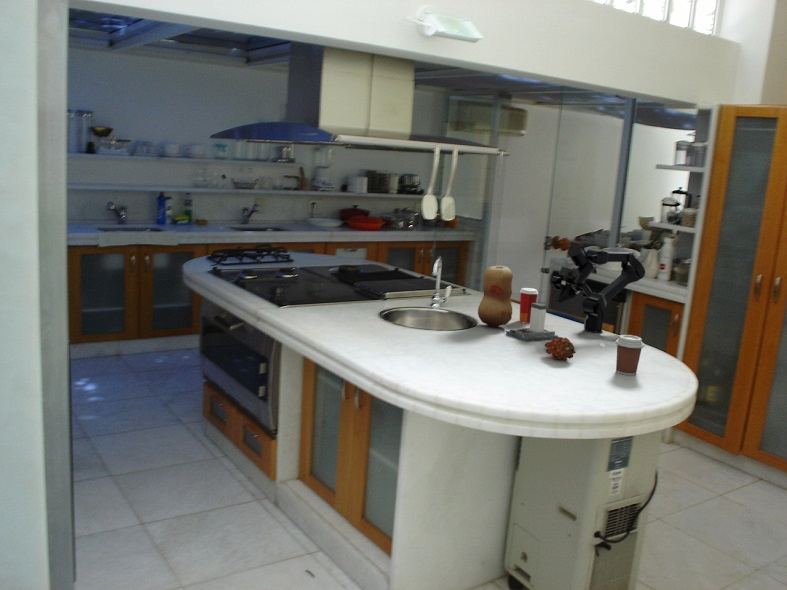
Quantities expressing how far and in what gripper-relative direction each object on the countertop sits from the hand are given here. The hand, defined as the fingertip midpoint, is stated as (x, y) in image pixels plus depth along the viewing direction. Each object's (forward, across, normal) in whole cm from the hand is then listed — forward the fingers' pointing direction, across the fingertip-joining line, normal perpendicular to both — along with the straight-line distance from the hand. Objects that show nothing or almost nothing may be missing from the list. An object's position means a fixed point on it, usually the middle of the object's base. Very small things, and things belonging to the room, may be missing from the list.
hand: (557, 302), depth 286 cm
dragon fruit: (+27, +28, -8) cm, 40 cm away
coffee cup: (+19, +48, 0) cm, 52 cm away
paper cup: (+7, -22, +12) cm, 26 cm away
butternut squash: (+21, -18, -2) cm, 28 cm away
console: (+18, 0, +1) cm, 18 cm away
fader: (+15, 0, +1) cm, 15 cm away
